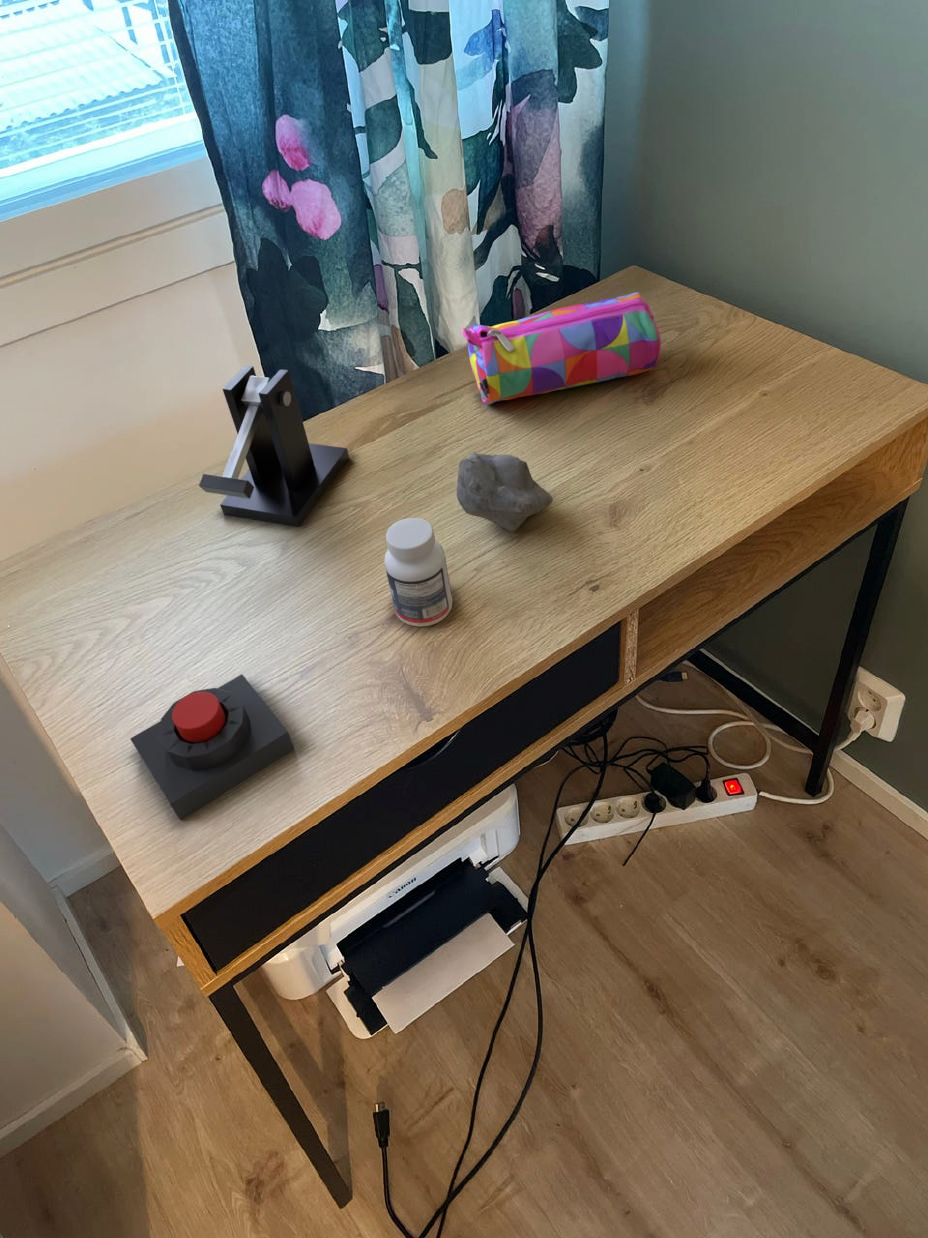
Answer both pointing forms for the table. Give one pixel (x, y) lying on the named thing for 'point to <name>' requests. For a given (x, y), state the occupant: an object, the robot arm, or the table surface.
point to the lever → (239, 446)
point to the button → (198, 717)
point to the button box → (213, 749)
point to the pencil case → (564, 348)
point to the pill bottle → (417, 573)
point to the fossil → (499, 489)
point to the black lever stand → (280, 455)
